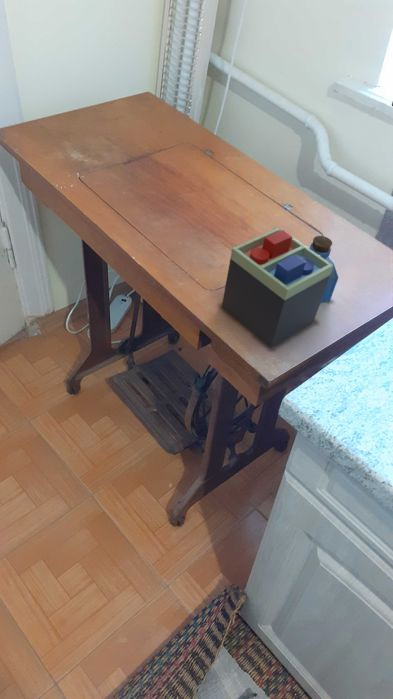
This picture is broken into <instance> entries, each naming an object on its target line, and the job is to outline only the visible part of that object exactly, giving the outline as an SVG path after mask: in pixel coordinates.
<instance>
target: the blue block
mask: <svg viewBox="0 0 393 699" xmlns="http://www.w3.org/2000/svg"><path fill="white" fill-rule="evenodd" d="M313 268H314V264H313V263H312V262H311V261H310V260H308V259H304V258H300V257H298V256H297V255H293V256H291V257H289V258H287V259H285V260H283V261H281V262H279V263H277V266H276V270H275V274H274V277H275V278H277V279H278V280H279V281H281V282H282V283H283V284H285V285H286V284H288V283H290V282H292V281H294V280H296V279H298V278H299V277H301V276H302V275H309V274H311V273H312V271H313Z"/></svg>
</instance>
